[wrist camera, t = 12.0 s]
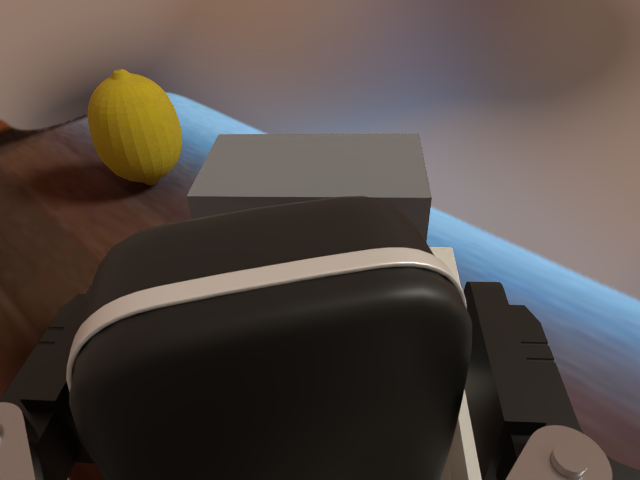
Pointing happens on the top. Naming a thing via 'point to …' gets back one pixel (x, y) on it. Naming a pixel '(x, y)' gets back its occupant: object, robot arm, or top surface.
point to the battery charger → (273, 348)
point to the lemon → (134, 127)
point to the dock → (326, 182)
